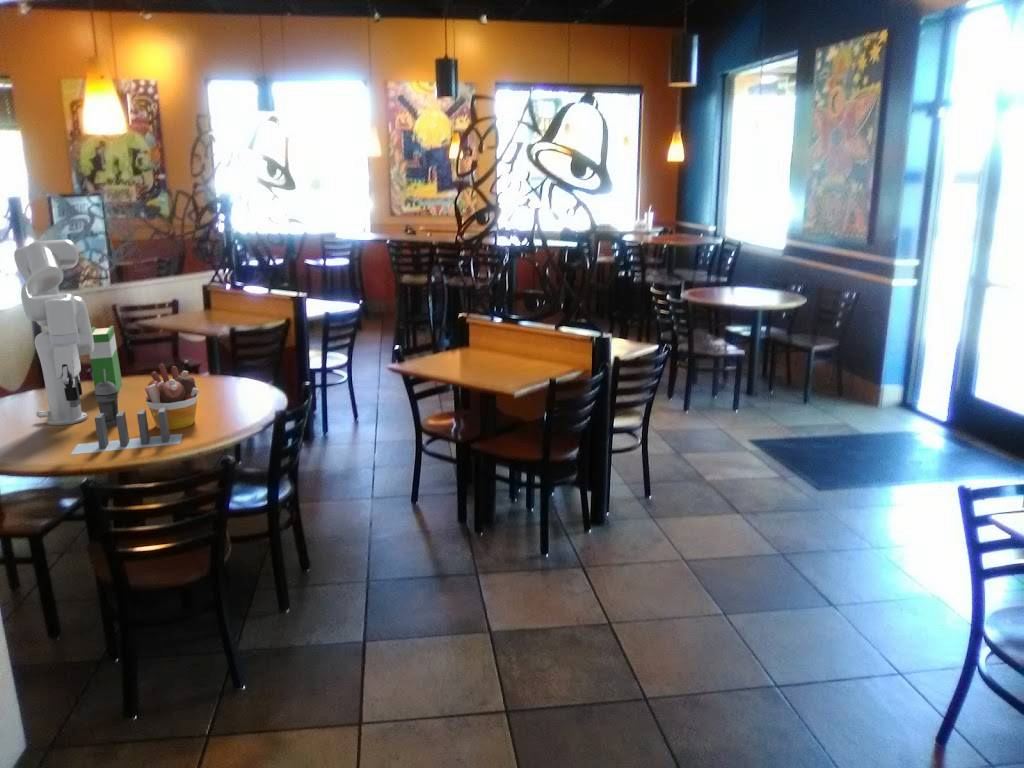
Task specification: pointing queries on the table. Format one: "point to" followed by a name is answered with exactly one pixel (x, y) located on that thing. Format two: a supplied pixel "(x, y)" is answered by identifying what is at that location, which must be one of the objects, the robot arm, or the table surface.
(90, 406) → the table surface
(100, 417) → the domino
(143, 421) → the domino
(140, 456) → the table surface
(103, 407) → the beverage cup
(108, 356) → the green tall box
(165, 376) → the bucket of meat
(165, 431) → the domino
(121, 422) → the domino
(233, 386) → the table surface
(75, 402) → the domino
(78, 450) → the mat
